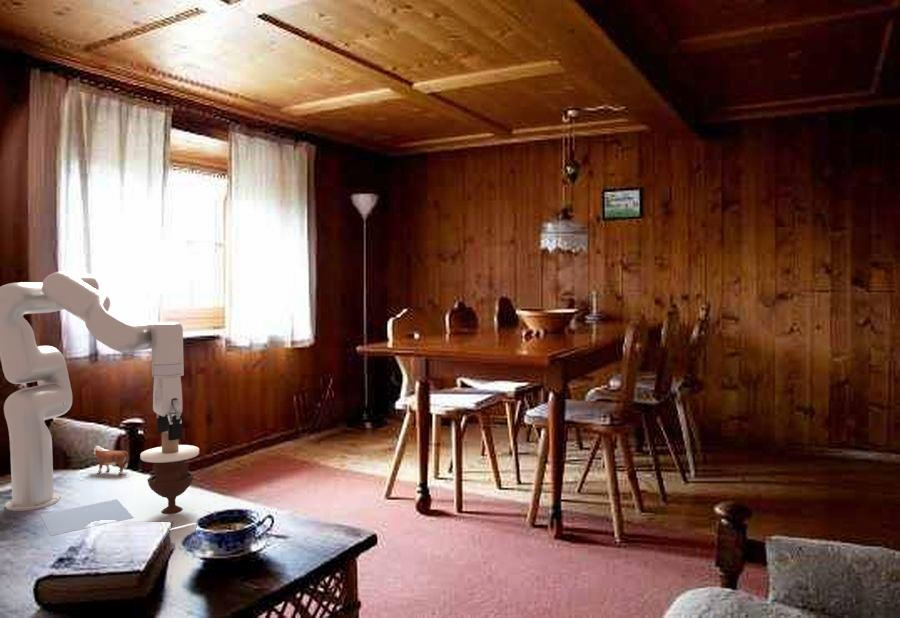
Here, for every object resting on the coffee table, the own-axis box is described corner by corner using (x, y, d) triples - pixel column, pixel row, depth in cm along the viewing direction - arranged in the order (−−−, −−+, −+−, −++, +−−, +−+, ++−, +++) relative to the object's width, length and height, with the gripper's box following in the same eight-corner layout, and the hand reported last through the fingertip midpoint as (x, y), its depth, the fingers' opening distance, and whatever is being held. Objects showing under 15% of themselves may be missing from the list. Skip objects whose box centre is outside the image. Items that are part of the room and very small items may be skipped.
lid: (134, 454, 170) (133, 431, 170) (189, 446, 179) (188, 424, 179) (149, 465, 159) (148, 441, 159) (207, 456, 168) (206, 433, 168)
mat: (40, 516, 167) (39, 514, 167) (116, 501, 179) (116, 499, 179) (51, 537, 153) (50, 535, 153) (133, 519, 165) (133, 517, 165)
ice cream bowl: (178, 521, 163) (177, 462, 163) (139, 518, 166) (137, 459, 165) (203, 506, 174) (201, 451, 173) (165, 504, 176) (164, 449, 175)
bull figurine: (98, 469, 210) (97, 443, 209) (132, 472, 206) (131, 446, 205) (87, 472, 205) (86, 447, 205) (121, 476, 202) (120, 450, 201)
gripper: (143, 368, 172) (144, 432, 173) (162, 375, 159) (163, 444, 160) (172, 365, 177) (174, 428, 178) (193, 372, 164) (195, 440, 164)
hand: (169, 435), depth 169 cm, fingers open, 9 cm apart
